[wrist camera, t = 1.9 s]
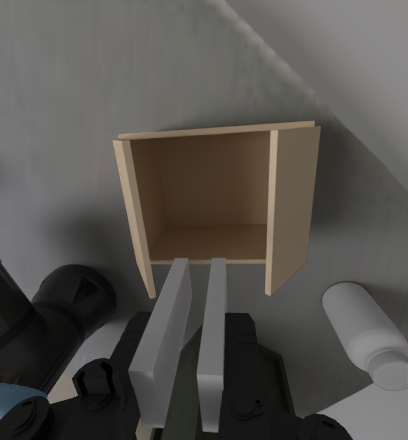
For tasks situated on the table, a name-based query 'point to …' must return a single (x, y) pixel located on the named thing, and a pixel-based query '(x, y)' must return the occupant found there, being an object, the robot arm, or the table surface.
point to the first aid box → (189, 396)
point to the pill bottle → (368, 335)
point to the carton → (205, 192)
